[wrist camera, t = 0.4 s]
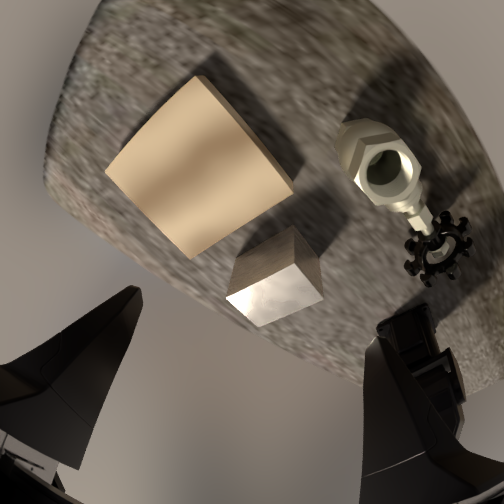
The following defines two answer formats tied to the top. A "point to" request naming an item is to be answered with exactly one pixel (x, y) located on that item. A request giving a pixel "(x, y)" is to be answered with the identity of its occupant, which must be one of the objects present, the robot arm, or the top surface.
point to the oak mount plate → (199, 169)
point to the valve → (401, 194)
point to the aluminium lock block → (276, 278)
